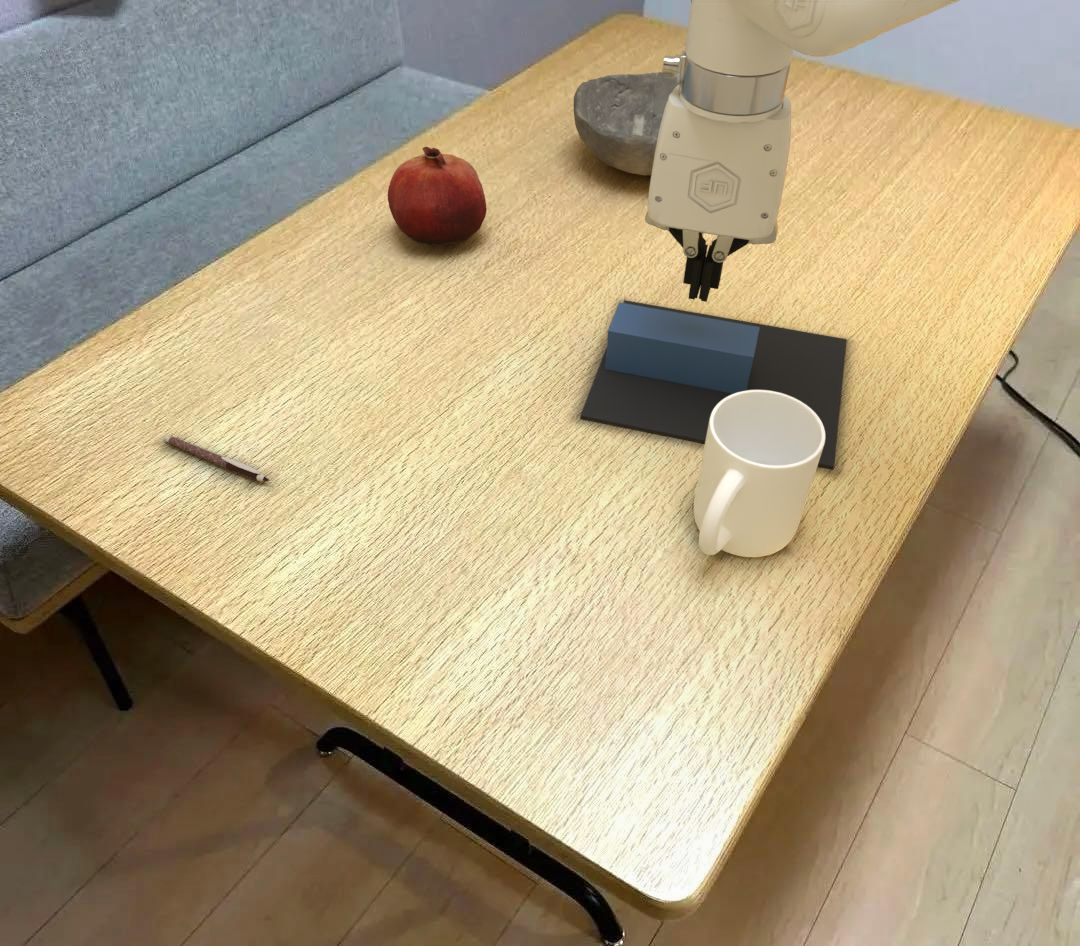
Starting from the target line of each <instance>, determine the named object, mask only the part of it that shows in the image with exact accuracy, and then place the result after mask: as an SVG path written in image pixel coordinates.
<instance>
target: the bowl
mask: <svg viewBox="0 0 1080 946" xmlns="http://www.w3.org/2000/svg"><path fill="white" fill-rule="evenodd" d="M679 84H680V83H677V78H673V77H672V75H664V74H662V71H657V72H648V73H633V74H631V73H626V74H625V73H624V74H622V73H621V74H610V75H605V76H600V77H597V78H594V79H589V80H587V81H582V82H581V83H580V84H579V85H578V87H577V88H576V91H575V92H574V95H573V117H574V124H575V129H576V131H577V134H578V136H579V139H580V140H581V142H583V143H584V145H585V147H586V148H587V149H588V150H589V151H590V152H591V153H592V155H594V156H595V157H596V158H597V159H599V161H601V162H602V163H603V164H605V165H607V166H609V167H611V168H614V169H617V170H619V171H623V172H625V173H628V174H634V175H640V176H651V174H652V168H653V162H654V155H655V150H656V144H657V139H658V134H659V129H660V125H661V121H662V117H663V113H664V110H665V107H666V103H667V101H668V98H669V95H670V94H671V93H672V91H673V89H674V88H675V87H676V86H678V85H679Z"/></svg>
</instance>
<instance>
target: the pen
mask: <svg viewBox="0 0 1080 946" xmlns="http://www.w3.org/2000/svg"><path fill="white" fill-rule="evenodd" d="M162 438H163V440H164V441H165V442H167V443H168V444H169V445H172V446H174V447H176V448H178V449H181V450H183V451H186V452H188V453H191V454H192V455H195V456H197V457H200V458H201V459H204V460H206V461H208V462H211V463H214V464H215V465H218V466H220V467H223V468H225V469H227V470H230V471H233V472H235V473H237V474H240V475H243V476H245V477H248V478H249V479H252V480H256V481H258V482H269V480H270V478H268V477H266V475H265V474H264V473H262V472H260V471H259V470H257V469H256V468H254V467H252V466H249V465H247V464H245V463H244V462H240V461H238V460H235V459H233V458H230V457H226V456H222V455H220V454H217V453H214V452H212V451H210V450H207V449H205V448H202V447H200V446H197V445H195V444H193V443H190V442H187V441H184V440H182V439H180V438H178V437H175V436H169V435H164V436H162Z"/></svg>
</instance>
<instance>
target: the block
mask: <svg viewBox="0 0 1080 946" xmlns="http://www.w3.org/2000/svg"><path fill="white" fill-rule="evenodd" d="M615 309H616V310H615V312H614V315H613V317H612V319H611V322H610V325H609V327H608V330H607V338H606V339H607V340H606V341H607V342H606V347H607V352H606V365H605V369H606V370H612V371H617V372H622V373H627V374H633V375H638V376H643V377H648V378H654V379H659V380H664V381H669V382H675V383H680V384H685V385H690V386H696V387H701V388H706V389H712V390H717V391H722V392H727V393H733V394H735V393H737V392H742V391H746V390H747V385H748V381H749V376H750V372H751V367H752V362H753V358H754V353H755V348H756V343H757V339H758V334H759V329H760V327H756V326H750V325H745V324H739V323H733V322H728V321H722V320H716V319H711V318H705V317H699V316H694V315H688V314H682V313H677V312H671V311H665V310H660V309H654V308H648V307H643V306H637V305H631V304H626V303H624V302H618V304H617V307H616V308H615Z"/></svg>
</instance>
